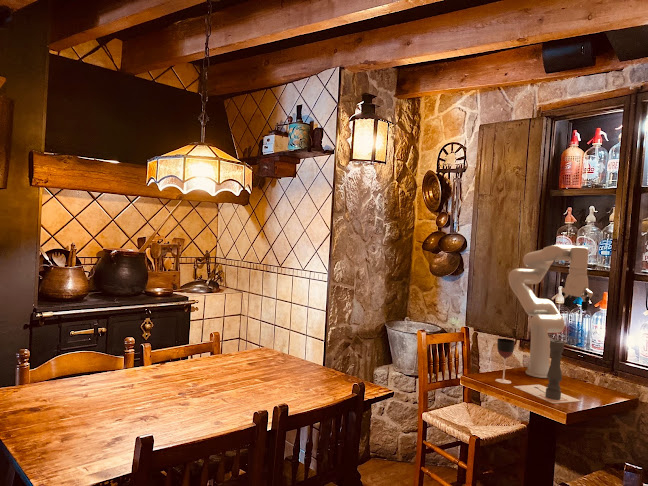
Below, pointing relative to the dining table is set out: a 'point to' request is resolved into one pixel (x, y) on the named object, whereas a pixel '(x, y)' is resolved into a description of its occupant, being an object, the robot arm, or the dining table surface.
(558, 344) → the candle holder
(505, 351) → the wineglass
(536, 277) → the robot arm
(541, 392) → the paper sheet
